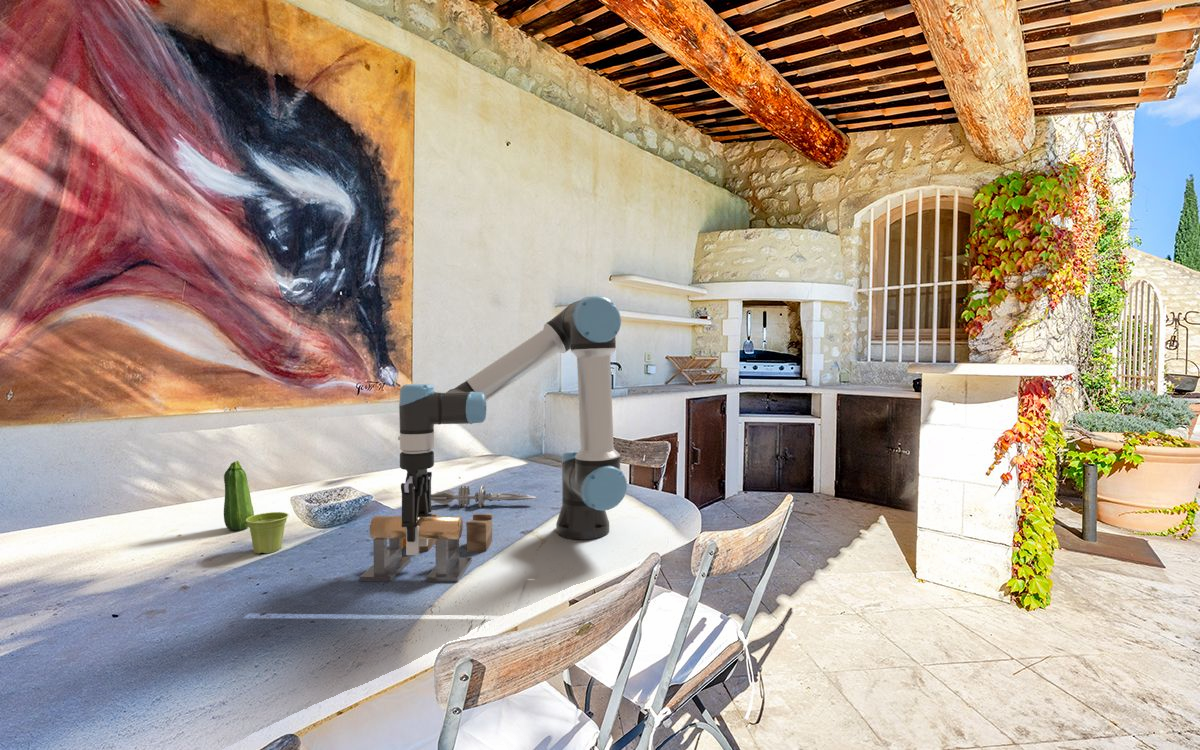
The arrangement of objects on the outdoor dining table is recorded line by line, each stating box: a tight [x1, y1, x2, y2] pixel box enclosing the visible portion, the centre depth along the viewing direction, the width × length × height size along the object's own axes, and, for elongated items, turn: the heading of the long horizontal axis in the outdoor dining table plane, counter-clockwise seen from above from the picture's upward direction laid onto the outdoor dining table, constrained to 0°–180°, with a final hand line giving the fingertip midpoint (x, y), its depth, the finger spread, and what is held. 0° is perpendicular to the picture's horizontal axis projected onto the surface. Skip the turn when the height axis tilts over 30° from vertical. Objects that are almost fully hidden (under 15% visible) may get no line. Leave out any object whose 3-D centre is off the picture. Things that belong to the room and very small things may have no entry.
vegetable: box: [223, 460, 255, 532], centre depth 154 cm, size 7×7×20 cm
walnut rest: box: [419, 513, 493, 552], centre depth 140 cm, size 20×8×8 cm, turn 89°
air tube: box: [369, 515, 464, 540], centre depth 124 cm, size 20×5×5 cm, turn 89°
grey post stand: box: [358, 537, 473, 583], centre depth 124 cm, size 22×12×9 cm, turn 89°
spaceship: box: [431, 484, 537, 509], centre depth 176 cm, size 8×35×8 cm, turn 90°
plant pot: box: [246, 511, 289, 554], centre depth 138 cm, size 9×9×9 cm
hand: (417, 549), depth 124 cm, fingers closed on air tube, 5 cm apart
